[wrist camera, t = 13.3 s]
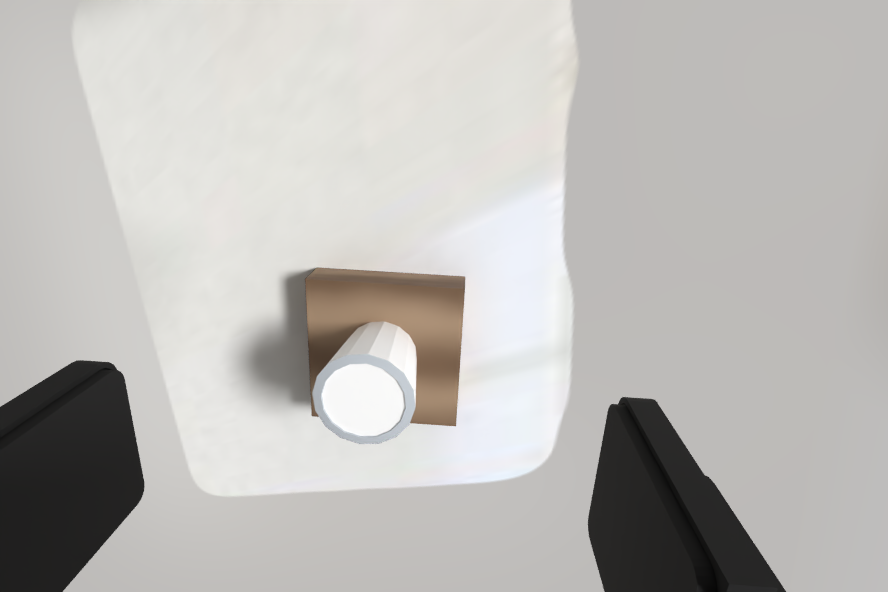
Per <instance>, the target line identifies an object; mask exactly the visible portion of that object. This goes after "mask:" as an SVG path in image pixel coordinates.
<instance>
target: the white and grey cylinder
mask: <svg viewBox="0 0 888 592" xmlns="http://www.w3.org/2000/svg"><path fill="white" fill-rule="evenodd" d="M416 367H417V357H416V347H415V345H414V343H413V341H412V339H411V337H410V336H409V334H407V333H406V332H405V331H404V330H402V329H401V328H400V327H399V326H397V325H394V324H391V323H388V322H370V323H367V324H365V325H363V326H361V327H358V328H357V329H356V331H355V332H354V333H353V334H352V335H351V336H350V337H349V338H348V340H347V341H346V342H345V343H344V344H343V346H342V347H341V348H340V349H339V350H338V352H337V353H336V354H335V355H334V356H333V358H332V359H331V360H330V361H329V363H328V364H327V365H326V366H325V367H324V369H323V370H322V371H321V372H320V373H319V375H318V376H317V378H316V382H315V385H314V389H313V392H312V395H313V400H314V406H315V411H316V413H317V414H318V416H319V417H320V419H321V420H322V422H323V423H324V425H325V426H326V427H327V428H328V429H330V430H331V431H332V432H334V433H335V434H336V435H338V436H339V437H340V438H343V439H346V440H349V441H352V442H355V443H359V444H379V443H382V442H384V441H387V440H389V439H392V438H395V437H397V436H398V435H399V434H400V433H401V432H402V431H403V430H404V429H405V428H406V427H407V426H408V425H409V424H410V421H411V419H412V416H413V413H414V411H415V407H416Z"/></svg>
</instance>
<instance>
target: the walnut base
mask: <svg viewBox="0 0 888 592" xmlns="http://www.w3.org/2000/svg"><path fill="white" fill-rule="evenodd" d="M305 284H306V305H307V325H308V346H309V367H310V387H311V408H312V416H317V417H319V416H318V414H317V413H316V411H315V406H314V400H313V395H312V392H313V389H314V385H315V382H316V378H317V376H318V375H319V373H320V372H321V371H322V370H323V369H324V367H325V366H326V365H327V364H328V363H329V361H330V360H331V359H332V358H333V356H334V355H335V354H336V353H337V352H338V350H339V349H340V348H341V347H342V346H343V344H344V343H345V342H346V341H347V340H348V338H349V337H350V336H351V335H352V334H353V333H354V332H355V331H356V329H357V328H358V327H361V326H363V325H365V324H367V323H370V322H388V323H391V324H394V325H397V326H399V327H400V328H401V329H402V330H404V331H405V332H406V333H407V334H409V336H410V337H411V339H412V341H413V343H414V345H415V347H416V357H417V367H416V407H415V411H414V413H413V416H412V419H411V421H410V423H417V424H431V425H446V426H456V415H457V400H458V385H459V369H460V354H461V339H462V324H463V308H464V293H465V277H462V276H445V275H429V274H412V273H396V272H379V271H363V270H347V269H330V268H316V269H315V270H314V271H313V272H312V273H311V274H310V275H309V276H308V277H307V278H306V279H305Z"/></svg>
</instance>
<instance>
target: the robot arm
mask: <svg viewBox="0 0 888 592" xmlns="http://www.w3.org/2000/svg"><path fill="white" fill-rule="evenodd" d="M143 492H144V479H143V474H142V468H141V463H140V458H139V453H138V447H137V442H136V437H135V431H134V427H133V421H132V416H131V410H130V405H129V400H128V395H127V389H126V384H125V379H124V376H123V374H122V373H121V372H120V371H118V370H117V369H116V367H115V366H114V365H113V364H111V363H109V362H96V361H75V362H73V363H71V364H69V365H68V366H66V367H64V368H63V369H61V370H59V371H58V372H56V373H55V374H53V375H51V376H50V377H48V378H46V379H45V380H43V381H42V382H40V383H38V384H37V385H35V386H34V387H32V388H30V389H29V390H27V391H26V392H24V393H22V394H21V395H19V396H17V397H16V398H14V399H12V400H11V401H9V402H8V403H6V404H4V405H3V406H1V407H0V592H63V590H64V589H65V588H66V587H67V586H68V585H69V584H70V582H71V581H72V580H73V579H74V578H75V577H76V575H77V574H78V573H79V572H80V571H81V570H82V568H83V567H84V566H85V565H86V563H88V561H89V560H90V559H91V558H92V557H93V556H94V554H95V553H96V552H97V551H98V550H99V549H100V547H101V546H102V545H103V544H104V543H105V542H106V540H107V539H108V538H109V537H110V536H111V535H112V534H113V532H114V531H115V530H116V529H117V528H118V526H119V525H120V524H121V523H122V522H123V521H124V519H125V518H126V517H127V516H128V515H129V514H130V513H131V511H132V510H133V509H134V508H135V507H136V506H137V504H138V503H139V501H140V500H141V498H142V495H143ZM588 531H589V537H590V541H591V545H592V548H593V552H594V556H595V559H596V562H597V566H598V570H599V573H600V577H601V580H602V584H603V588H604V591H605V592H786V591H785V589H784V588H783V586H782V585H781V583H780V582H779V580H778V579H777V577H776V576H775V574H774V573H773V571H772V570H771V568H770V567H769V565H768V564H767V562H766V561H765V559H764V558H763V556H762V555H761V553H760V552H759V550H758V549H757V547H756V546H755V544H754V543H753V541H752V540H751V538H750V537H749V535H748V534H747V532H746V531H745V529H744V528H743V526H742V525H741V523H740V522H739V520H738V519H737V517H736V516H735V514H734V512H733V511H732V510H731V508H730V506H729V505H728V503H727V502H726V501H725V499H724V497H723V496H722V495H721V493H720V491H719V490H718V488H717V487H716V485H715V484H714V483H713V482H712V480H711V479H710V478H709V477H707V476H705V475H704V474H703V472H702V471H701V469H700V468H699V466H698V465H697V463H696V462H695V460H694V459H693V457H692V455H691V454H690V452H689V451H688V449H687V448H686V446H685V445H684V443H683V442H682V440H681V439H680V437H679V436H678V434H677V433H676V431H675V429H674V428H673V426H672V425H671V423H670V422H669V420H668V419H667V417H666V416H665V414H664V413H663V411H662V409H661V408H660V407H659V405H658V403H657V402H656V401H655V400H653V399H643V398H628V397H623V398H621V399H620V401H619V403H618V405H617V404H611V405H610V407H609V409H608V414H607V419H606V425H605V430H604V436H603V441H602V447H601V452H600V457H599V463H598V468H597V474H596V479H595V484H594V490H593V495H592V501H591V506H590V512H589V518H588Z"/></svg>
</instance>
